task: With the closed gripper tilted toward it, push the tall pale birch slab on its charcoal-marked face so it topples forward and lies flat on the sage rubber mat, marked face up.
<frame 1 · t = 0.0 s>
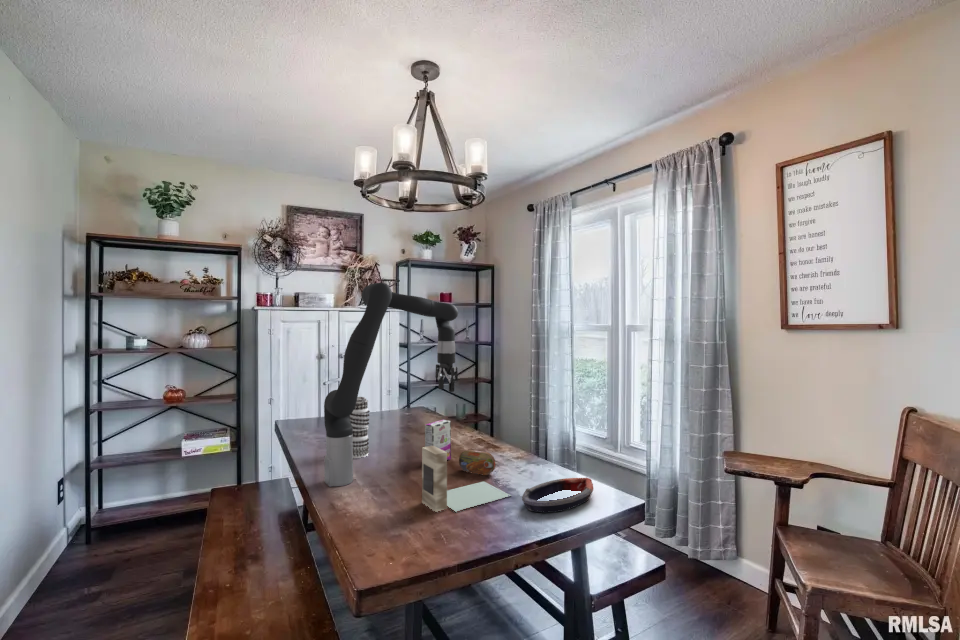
hand: (446, 390, 192), 29 cm above the table, tool pointing down, fingers open, 8 cm apart
decorative candle: (358, 455, 199), on the table
candy bar box: (438, 462, 190), on the table
tin: (477, 473, 177), on the table
dark oval ring: (560, 502, 150), on the table
rubber mat: (470, 496, 154), on the table
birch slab: (434, 506, 146), on the table
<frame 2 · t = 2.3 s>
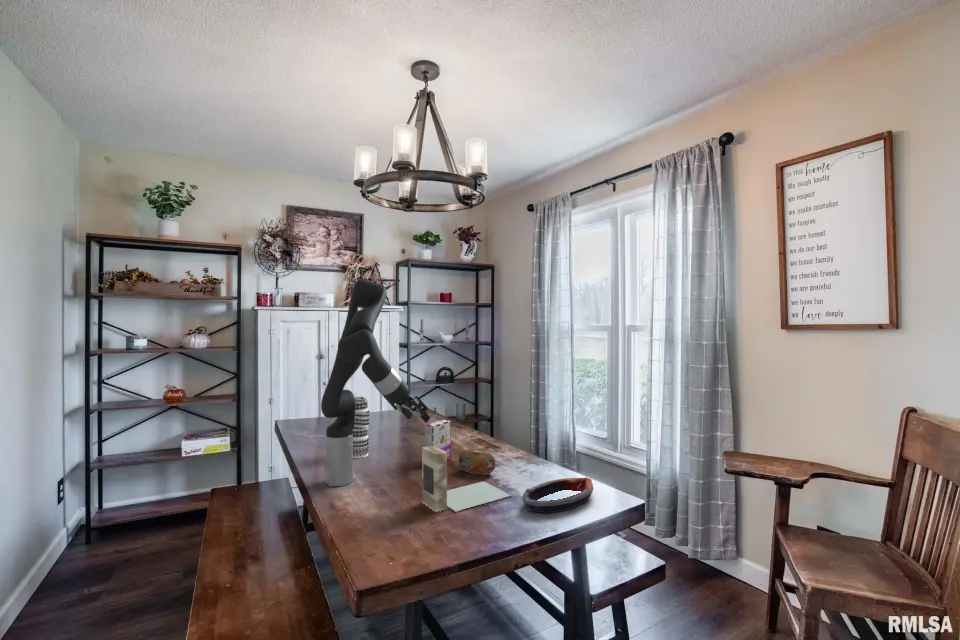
hand: (419, 418, 145), 28 cm above the table, tool tilted 40°, fingers open, 8 cm apart
nothing on the table moved.
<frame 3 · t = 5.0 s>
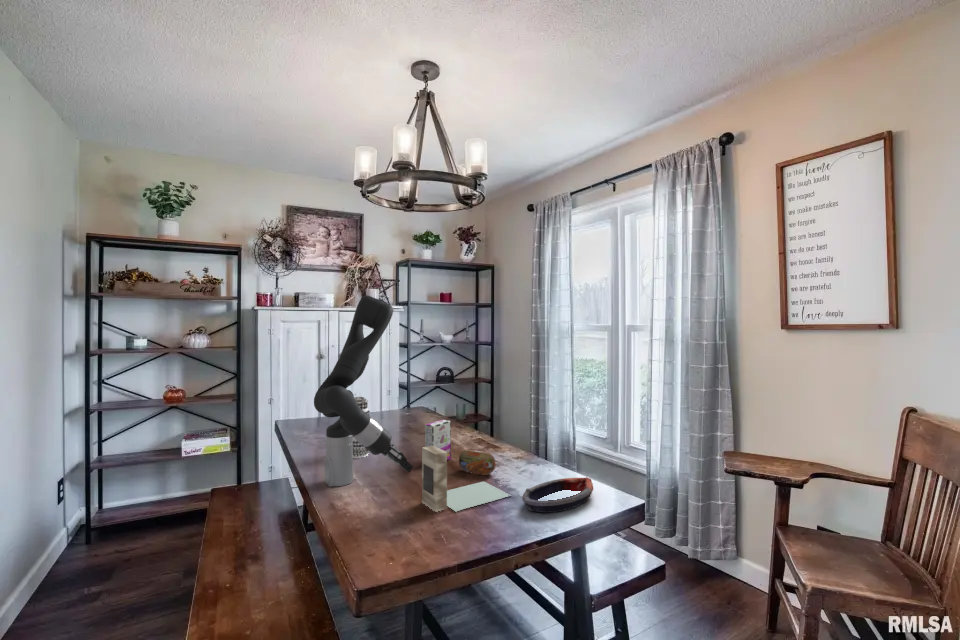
hand: (410, 469, 141), 13 cm above the table, tool tilted 45°, fingers closed
nothing on the table moved.
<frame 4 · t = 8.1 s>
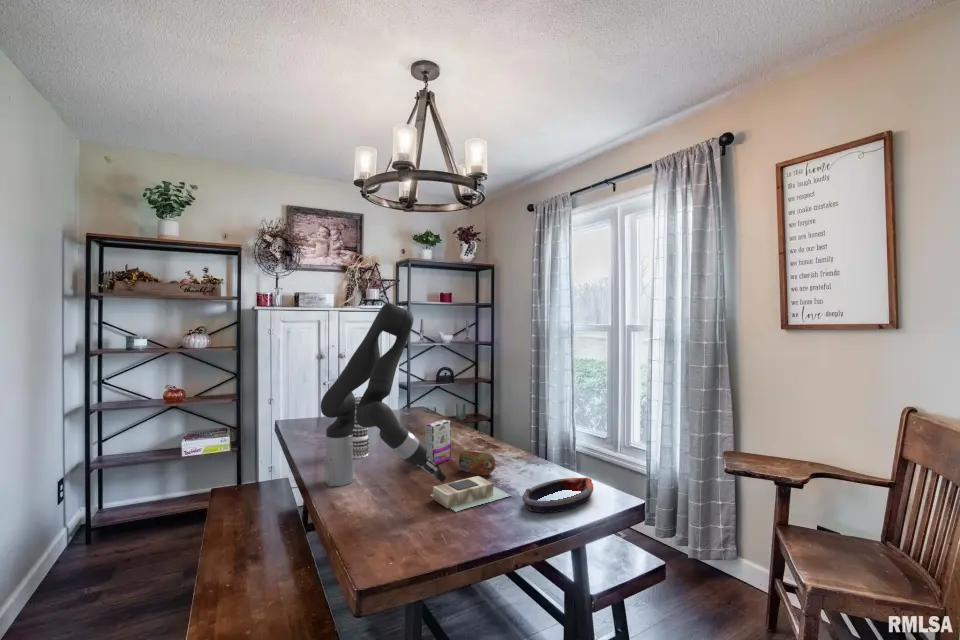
hand: (443, 479, 148), 8 cm above the table, tool tilted 45°, fingers closed
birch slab: (439, 497, 147), point 2 cm above the table, tilted 90°, touching rubber mat
everything else where it was.
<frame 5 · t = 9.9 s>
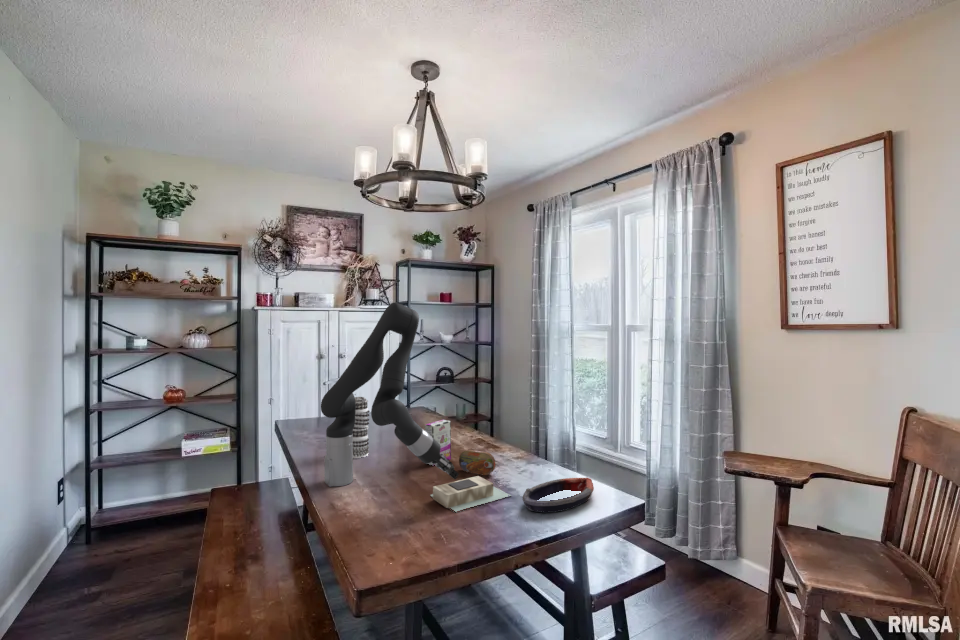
hand: (455, 476, 150), 8 cm above the table, tool tilted 45°, fingers closed
nothing on the table moved.
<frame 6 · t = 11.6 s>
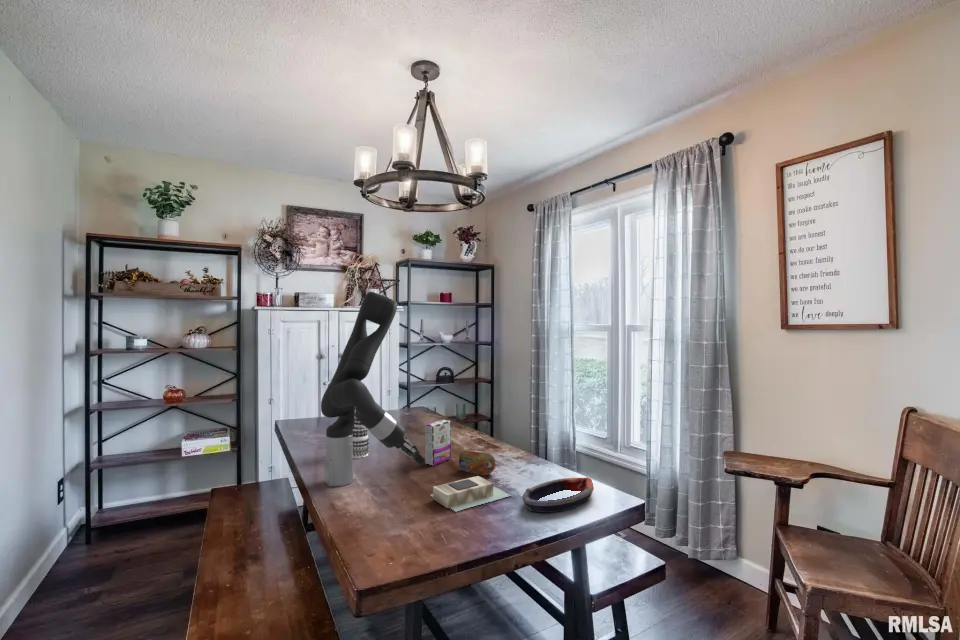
hand: (422, 462, 143), 15 cm above the table, tool tilted 45°, fingers closed
nothing on the table moved.
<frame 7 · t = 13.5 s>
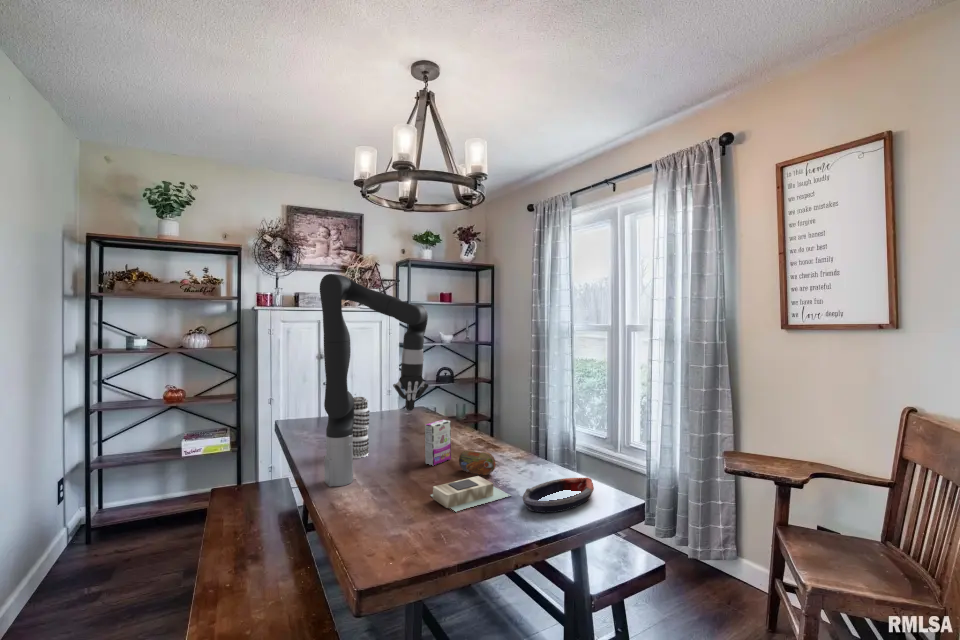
hand: (409, 410, 162), 27 cm above the table, tool pointing down, fingers closed
nothing on the table moved.
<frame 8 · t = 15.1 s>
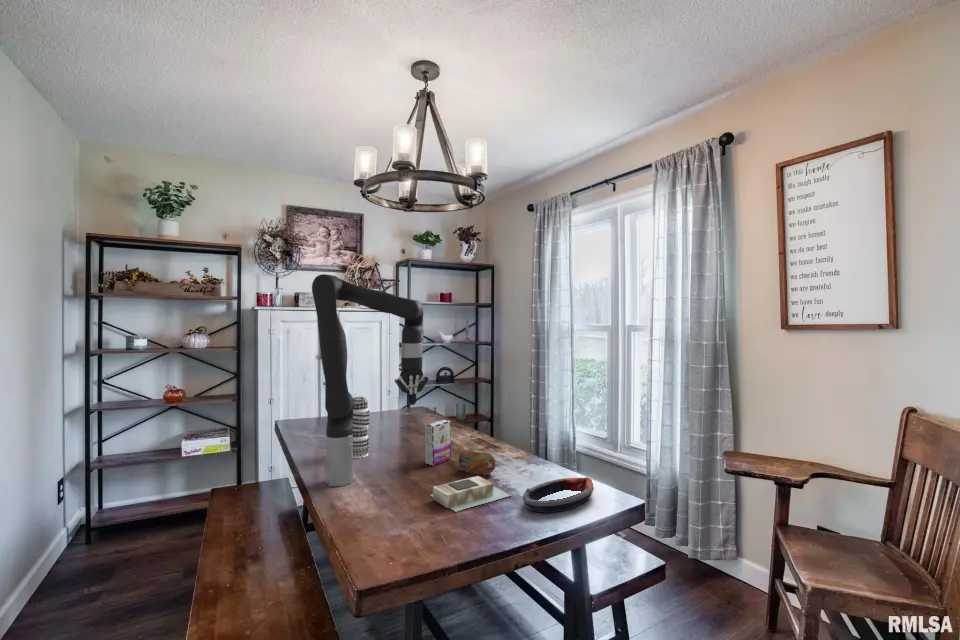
hand: (411, 404, 163), 29 cm above the table, tool pointing down, fingers closed
nothing on the table moved.
at the end: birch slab tilted 90°; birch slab touching rubber mat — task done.
